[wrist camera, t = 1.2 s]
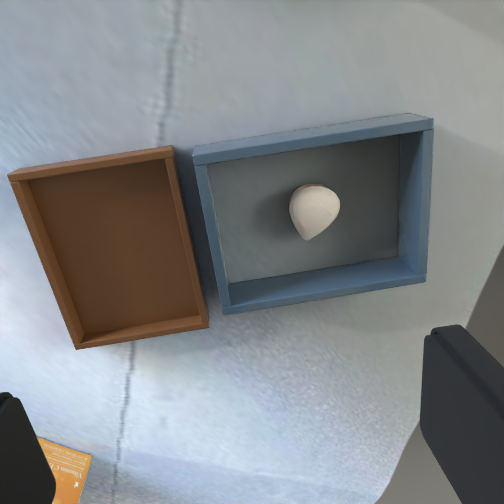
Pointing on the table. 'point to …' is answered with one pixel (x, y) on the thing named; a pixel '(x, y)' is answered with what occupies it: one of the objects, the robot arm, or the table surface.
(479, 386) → the robot arm
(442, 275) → the table surface
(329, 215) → the white teardrop piece
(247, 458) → the table surface
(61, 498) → the small box
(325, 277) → the basin
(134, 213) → the tray
